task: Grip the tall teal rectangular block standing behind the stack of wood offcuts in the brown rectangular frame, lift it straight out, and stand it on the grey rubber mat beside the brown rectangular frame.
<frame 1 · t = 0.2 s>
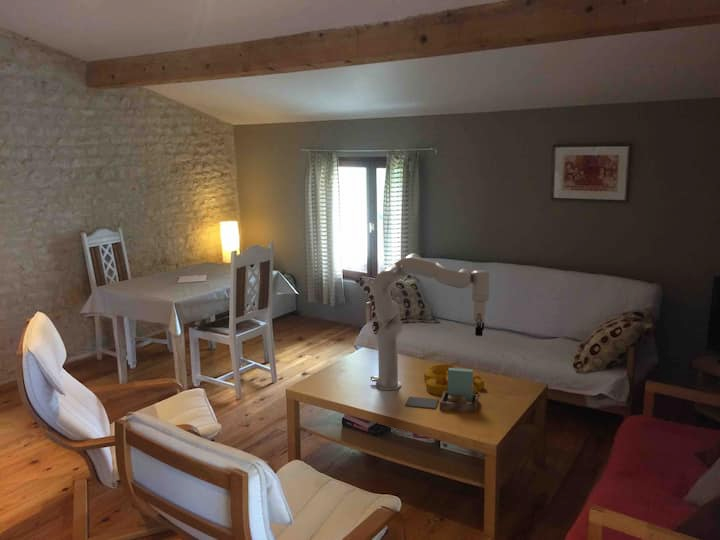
hand: (479, 332, 285), 31 cm above the table, tool pointing down, fingers open, 9 cm apart
offcut stack: (459, 407, 277), resting in brown rectangular frame
brown rectangular frame: (459, 405, 279), on the table
mat: (421, 403, 282), on the table
teal rectangular block: (460, 402, 282), resting in brown rectangular frame
decorative symbol: (453, 385, 305), on the table
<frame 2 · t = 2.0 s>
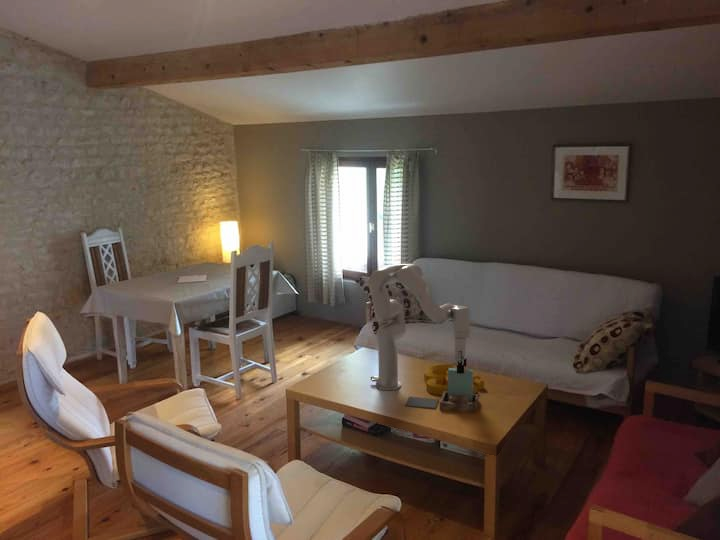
hand: (461, 369, 279), 16 cm above the table, tool pointing down, fingers open, 9 cm apart
nothing on the table moved.
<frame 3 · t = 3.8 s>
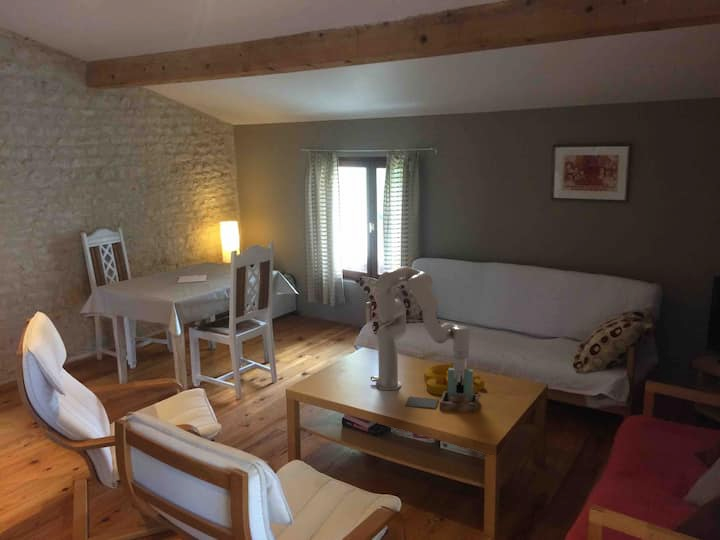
hand: (460, 390, 281), 6 cm above the table, tool pointing down, fingers closed on teal rectangular block, 3 cm apart
offcut stack: (461, 408, 276), resting in brown rectangular frame
teal rectangular block: (460, 402, 282), resting in brown rectangular frame, touching gripper
everything else where it was.
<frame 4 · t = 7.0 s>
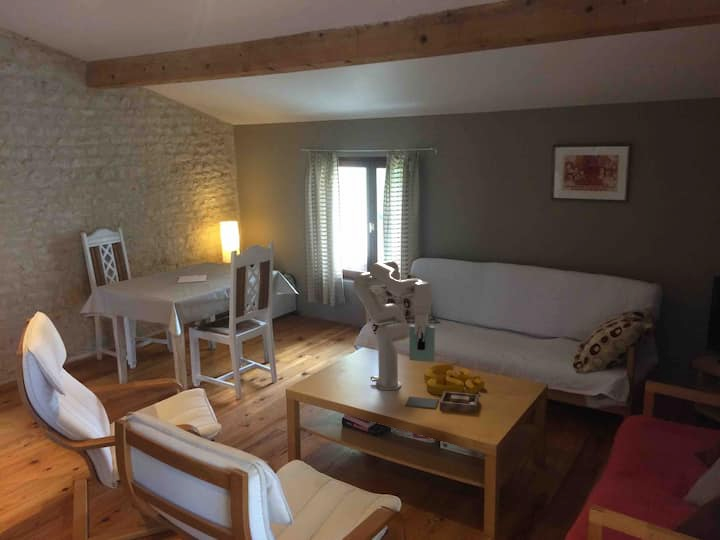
hand: (422, 348, 277), 27 cm above the table, tool pointing down, fingers closed on teal rectangular block, 3 cm apart
offcut stack: (462, 407, 277), resting in brown rectangular frame
teal rectangular block: (422, 360, 278), point 21 cm above the table, touching gripper
everything else where it was.
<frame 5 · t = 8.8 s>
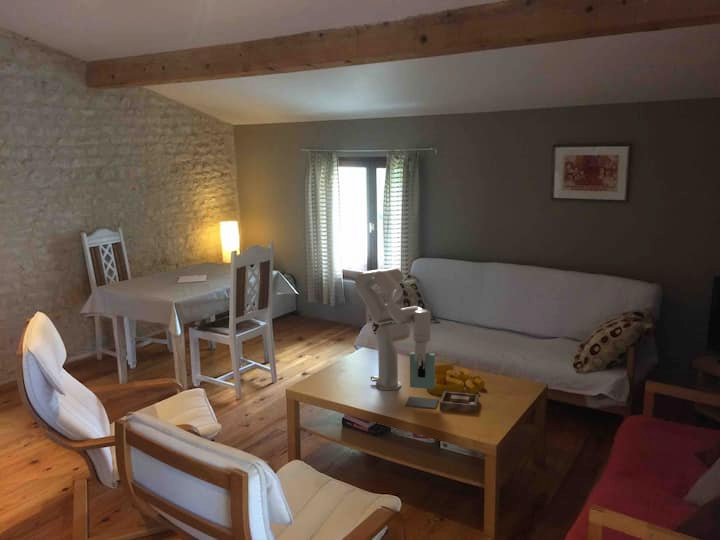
hand: (422, 375, 279), 14 cm above the table, tool pointing down, fingers closed on teal rectangular block, 3 cm apart
teal rectangular block: (422, 387, 280), point 8 cm above the table, touching gripper
everything else where it was.
when the fingers open (7 cm above the table, at t = 10.2 s): teal rectangular block stays where it is, resting on mat.
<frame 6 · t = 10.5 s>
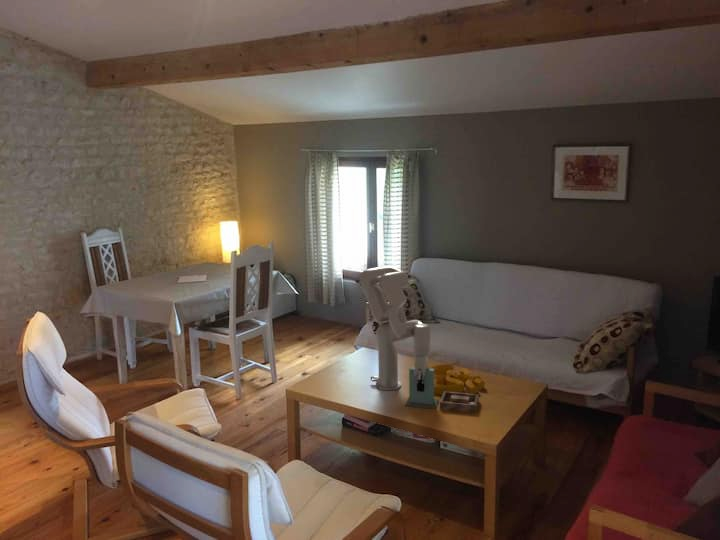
hand: (421, 388, 281), 7 cm above the table, tool pointing down, fingers open, 6 cm apart
teal rectangular block: (421, 401, 282), point 1 cm above the table, touching mat
everything else where it was.
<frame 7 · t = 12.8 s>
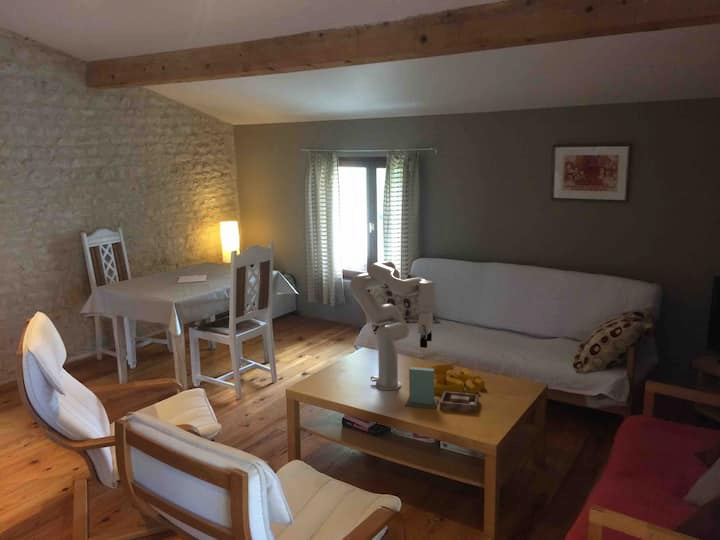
hand: (425, 344, 279), 28 cm above the table, tool pointing down, fingers open, 9 cm apart
nothing on the table moved.
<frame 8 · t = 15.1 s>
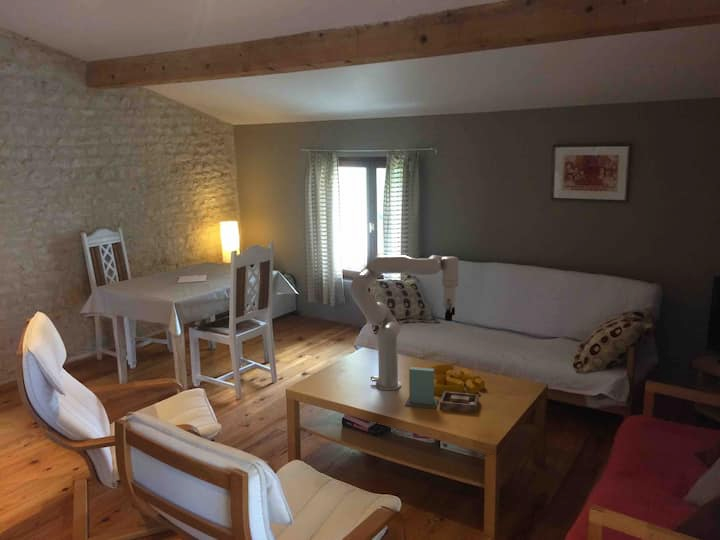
hand: (449, 317, 290), 36 cm above the table, tool pointing down, fingers open, 9 cm apart
nothing on the table moved.
at the end: teal rectangular block inside the target area on the mat (0.1 cm from its centre), point 0.6 cm above the mat's base; teal rectangular block tilted 0°; the gripper is holding nothing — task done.
